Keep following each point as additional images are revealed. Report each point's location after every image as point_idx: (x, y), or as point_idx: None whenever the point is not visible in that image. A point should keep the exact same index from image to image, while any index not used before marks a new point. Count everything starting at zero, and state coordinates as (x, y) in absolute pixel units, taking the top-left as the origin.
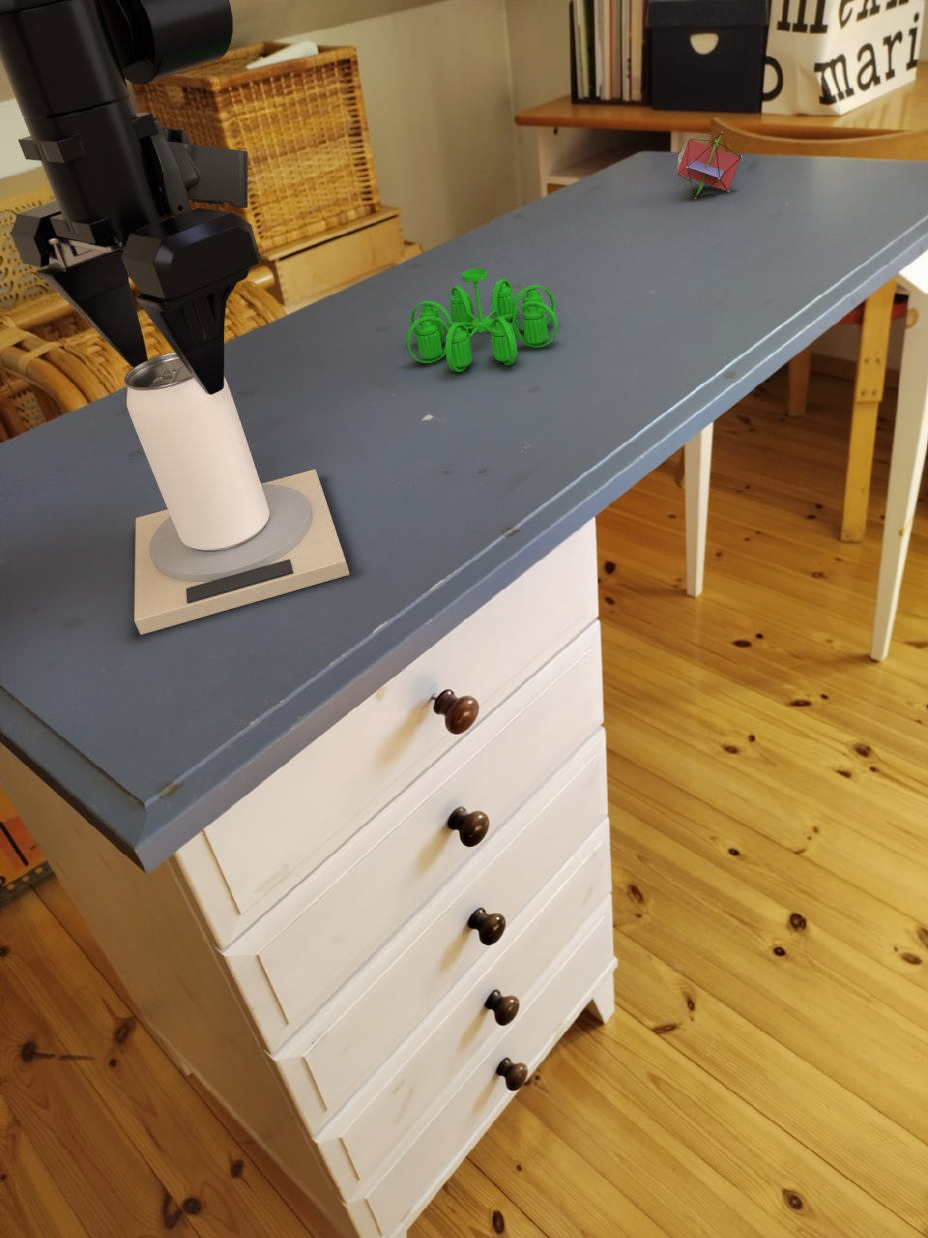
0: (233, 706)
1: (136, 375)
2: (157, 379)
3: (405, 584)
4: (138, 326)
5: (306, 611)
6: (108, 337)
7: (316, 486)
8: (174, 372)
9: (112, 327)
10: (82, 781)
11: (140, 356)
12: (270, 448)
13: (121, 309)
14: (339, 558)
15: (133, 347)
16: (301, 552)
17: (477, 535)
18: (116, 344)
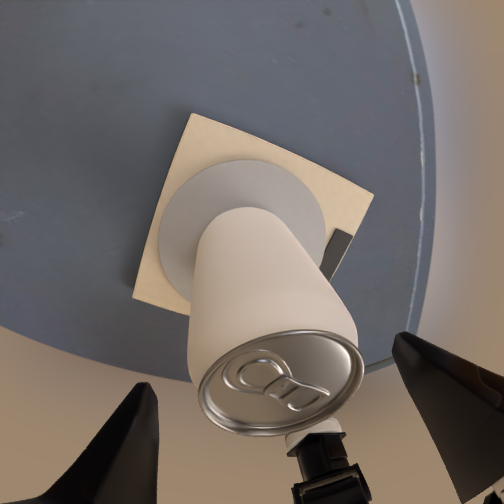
0: (395, 309)
1: (229, 418)
2: (290, 405)
3: (406, 171)
4: (131, 432)
5: (371, 240)
6: (157, 465)
7: (233, 133)
8: (290, 384)
9: (149, 470)
10: (366, 371)
11: (149, 399)
12: (74, 124)
13: (130, 479)
14: (368, 197)
15: (151, 420)
16: (332, 213)
17: (402, 93)
18: (158, 448)
